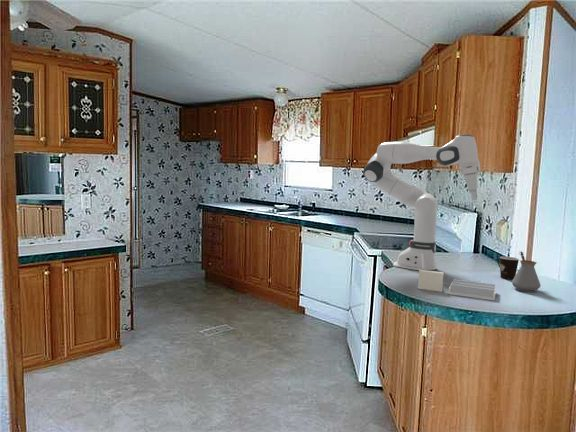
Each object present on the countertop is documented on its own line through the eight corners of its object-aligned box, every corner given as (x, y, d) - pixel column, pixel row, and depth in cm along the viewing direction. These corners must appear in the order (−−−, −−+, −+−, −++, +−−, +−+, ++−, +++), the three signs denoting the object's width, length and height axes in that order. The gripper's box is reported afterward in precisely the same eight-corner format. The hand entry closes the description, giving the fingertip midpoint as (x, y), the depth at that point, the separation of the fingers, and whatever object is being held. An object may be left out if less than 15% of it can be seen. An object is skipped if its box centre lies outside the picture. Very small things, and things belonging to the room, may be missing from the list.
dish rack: (448, 294, 198) (448, 284, 198) (451, 287, 210) (452, 278, 210) (494, 300, 191) (495, 290, 190) (495, 293, 202) (496, 284, 202)
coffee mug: (519, 280, 227) (521, 260, 226) (500, 279, 229) (502, 259, 228) (512, 275, 239) (514, 256, 238) (494, 274, 240) (496, 255, 239)
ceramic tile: (417, 288, 206) (419, 270, 205) (418, 287, 208) (420, 269, 208) (441, 291, 202) (442, 273, 201) (442, 290, 204) (443, 272, 203)
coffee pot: (543, 294, 203) (546, 260, 201) (514, 291, 206) (516, 258, 204) (531, 283, 223) (534, 252, 222) (505, 280, 226) (508, 250, 225)
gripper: (463, 169, 226) (468, 198, 227) (461, 171, 207) (466, 202, 208) (477, 167, 223) (482, 195, 224) (477, 168, 205) (482, 199, 205)
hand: (475, 198), depth 216 cm, fingers open, 8 cm apart
